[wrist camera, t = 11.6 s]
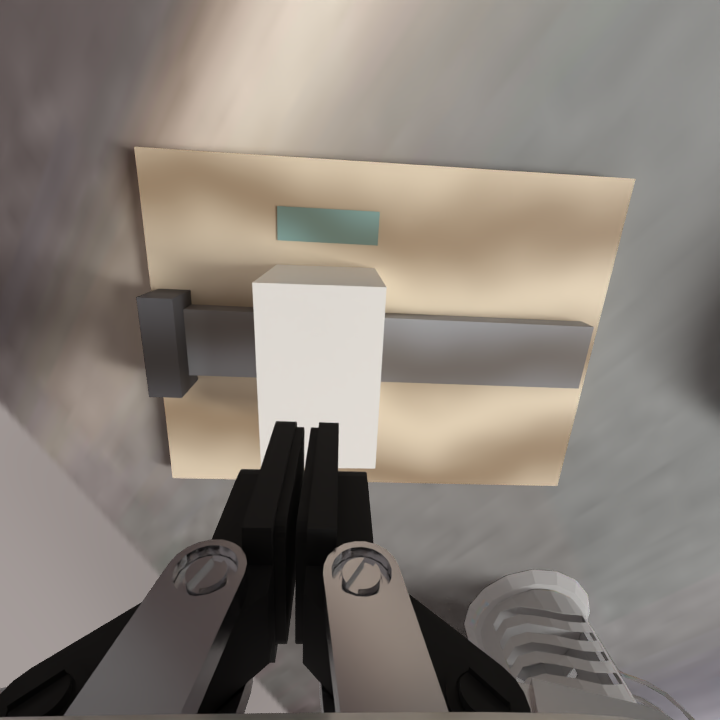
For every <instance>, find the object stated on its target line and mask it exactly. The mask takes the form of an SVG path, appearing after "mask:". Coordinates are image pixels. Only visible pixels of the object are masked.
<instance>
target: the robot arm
mask: <svg viewBox="0 0 720 720" xmlns="http://www.w3.org/2000/svg"><path fill="white" fill-rule="evenodd" d="M304 437H305V430H304V427H297V422H291V421H276V422H275V425H274V428H273V431H272V435H271V438H270V441H269V444H268V447H267V450H266V453H265V456H264V459H263V462H262V465H261V468H260V469H241V470H240V472H239V474H238V476H237V478H236V481H235V483H234V486H233V488H232V491H231V493H230V496H229V498H228V501H227V503H226V506H225V508H224V511H223V513H222V516H221V518H220V520H219V523H218V525H217V528H216V530H215V533H214V535H213V538H212V540H207V541H202V542H198V543H196V544H194V545H191V546H189V547H187V548H186V549H184V550H183V551H181V552H180V553H178V554H177V555H176V556H175V557H174V558H173V559H172V560H171V562H170V563H169V564H168V565H167V567H166V568H165V570H164V571H163V572H162V574H161V575H160V577H159V578H158V580H157V581H156V583H155V584H154V585H153V587H152V588H151V590H150V591H149V593H148V594H147V596H146V597H145V599H144V600H143V601H142V602H141V603H140V604H138V605H136V606H135V607H133V608H131V609H130V610H128V611H126V612H125V613H123V614H121V615H120V616H118V617H116V618H115V619H113V620H111V621H110V622H108V623H106V624H105V625H103V626H101V627H100V628H98V629H96V630H94V631H93V632H91V633H90V634H88V635H86V636H84V637H83V638H81V639H79V640H78V641H76V642H74V643H73V644H71V645H69V646H68V647H66V648H64V649H63V650H61V651H59V652H58V653H56V654H54V655H53V656H51V657H50V658H47V659H46V660H44V661H42V662H41V663H39V664H37V665H36V666H34V667H32V668H31V669H29V670H28V671H27V672H25V673H24V674H22V675H21V676H20V677H18V678H17V679H15V680H14V681H13V682H12V683H11V684H10V685H9V686H8V687H5V688H1V689H0V720H673V719H672V718H670V717H669V716H668V715H666V714H665V713H663V712H661V711H658V710H656V709H653V708H651V707H648V706H646V705H642V704H637V703H633V702H629V701H625V700H621V699H617V698H612V697H608V696H604V695H600V694H596V693H592V692H588V691H583V690H579V689H575V688H571V687H567V686H563V685H558V684H554V683H550V682H546V681H542V680H538V679H534V678H532V679H531V682H530V685H528V684H524V683H520V682H517V681H516V679H515V678H514V677H513V676H512V675H511V674H510V673H509V672H508V671H507V670H506V669H505V668H504V667H503V666H502V665H500V664H499V663H498V662H496V661H495V660H494V659H492V658H491V657H490V656H489V655H487V654H486V653H485V652H483V651H482V650H481V649H479V648H478V647H477V646H476V645H474V644H473V643H472V642H470V641H469V640H468V639H466V638H465V637H464V636H463V635H461V634H460V633H459V632H457V631H456V630H455V629H453V628H452V627H451V626H450V625H448V624H447V623H446V622H444V621H443V620H442V619H440V618H439V617H438V616H437V615H435V614H434V613H433V612H431V611H430V610H429V609H427V608H426V607H425V606H424V605H422V604H421V603H420V602H418V601H417V600H416V599H414V598H413V597H412V596H411V595H409V594H408V591H407V588H406V585H405V583H404V580H403V577H402V574H401V571H400V568H399V565H398V563H397V562H396V560H395V558H394V556H392V555H391V554H390V553H389V552H388V551H387V550H386V549H384V548H383V547H381V546H379V545H377V544H374V543H373V533H372V523H371V512H370V501H369V491H368V480H367V472H357V471H338V447H339V423H326V422H319V427H318V428H316V427H311V430H310V437H309V443H308V450H307V456H306V463H305V470H304ZM295 580H296V597H295V642H296V644H303V664H304V665H305V666H306V667H307V668H308V669H309V670H310V672H311V673H312V674H313V675H314V676H315V677H316V678H317V679H318V681H319V682H320V704H321V713H260V714H259V713H257V714H244V712H245V709H246V706H247V703H248V700H249V697H250V694H251V688H252V683H253V677H254V676H255V675H256V674H257V673H259V672H260V671H261V670H262V669H263V668H264V667H265V666H266V665H268V664H269V663H275V659H276V652H277V646H278V644H287V641H288V634H289V626H290V619H291V611H292V603H293V596H294V588H295Z"/></svg>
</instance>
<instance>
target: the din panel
mask: <svg viewBox="0 0 720 720" xmlns="http://www.w3.org/2000/svg"><path fill="white" fill-rule="evenodd" d="M134 150H135V159H136V167H137V176H138V184H139V193H140V201H141V210H142V219H143V227H144V236H145V244H146V253H147V261H148V270H149V278H150V287H151V292H149V293H146V294H144V295H141V296H138V297H136V299H137V307H138V314H139V322H140V330H141V337H142V345H143V353H144V361H145V368H146V376H147V384H148V391H149V397H163V398H164V407H165V415H166V424H167V433H168V441H169V450H170V458H171V467H172V475H173V478H201V479H236V478H237V476H238V474H239V472H240V470H241V469H260V468H261V458H260V437H259V415H258V394H257V373H256V352H255V330H254V309H253V288H252V282H254V281H255V280H257V279H258V278H259V277H261V276H262V275H263V274H265V273H266V272H267V271H269V270H270V269H271V268H273V267H274V266H275V265H277V264H280V265H307V266H334V267H362V268H375V269H376V271H377V272H378V274H379V276H380V277H381V279H382V281H383V282H384V284H385V286H386V287H387V289H386V305H385V321H384V337H383V353H382V369H381V385H380V401H379V417H378V433H377V450H376V466H375V469H366V468H338V471H357V472H367V480H368V482H394V483H442V484H491V485H539V486H557V485H558V481H559V477H560V473H561V469H562V465H563V461H564V457H565V453H566V449H567V446H568V442H569V438H570V434H571V430H572V426H573V422H574V418H575V414H576V410H577V406H578V402H579V398H580V395H581V391H582V387H583V383H584V379H585V375H586V371H587V367H588V363H589V359H590V355H591V351H592V347H593V344H594V340H595V336H596V332H597V328H598V324H599V320H600V316H601V312H602V308H603V304H604V300H605V296H606V293H607V289H608V285H609V281H610V277H611V273H612V269H613V265H614V261H615V257H616V253H617V249H618V245H619V242H620V238H621V234H622V230H623V226H624V222H625V218H626V214H627V210H628V206H629V202H630V198H631V194H632V191H633V187H634V183H635V179H628V178H613V177H597V176H582V175H566V174H551V173H535V172H520V171H504V170H488V169H473V168H457V167H442V166H426V165H411V164H395V163H380V162H364V161H349V160H333V159H317V158H302V157H286V156H271V155H255V154H240V153H224V152H209V151H193V150H177V149H162V148H146V147H134ZM304 470H305V468H304Z"/></svg>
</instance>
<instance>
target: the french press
mask: <svg viewBox="0 0 720 720" xmlns="http://www.w3.org/2000/svg"><path fill="white" fill-rule="evenodd" d="M589 613H590V610H589V601H588V594H587V593H586V592H585V591H584V589H583V588H582V587H581V586H580V584H579V583H578V582H577V581H576V580H575V579H572V578H570V577H568V576H566V575H564V574H561V573H559V572H557V571H545V570H528V571H524V572H519V573H515V574H511V575H507V576H505V577H503V578H501V579H499V580H498V581H496V582H494V583H493V584H491V585H489V586H487V587H486V588H484V589H483V590H482V591H481V593H480V594H479V595H478V596H477V597H476V598H475V600H474V601H473V602H472V603H471V604H470V605H469V609H468V612H467V616H466V619H465V623H464V625H465V629H466V633H467V637H468V640H469V641H470V642H472V643H473V644H474V645H476V646H477V647H478V648H479V649H481V650H482V651H483V652H485V653H486V654H487V655H489V656H490V657H491V658H492V659H494V660H495V661H496V662H498V663H499V664H500V665H502V666H503V667H504V668H505V669H506V670H507V671H508V672H509V673H510V674H511V675H512V676H513V677H514V678H515V679H516V678H517V677H518V678H520V679H522V680H523V681H525V682H524V684H528V685H530V682H531V679H532V678H534V679H538V680H542V681H546V682H550V683H554V684H558V685H563V686H567V687H571V688H575V689H579V690H583V691H588V692H592V693H596V694H600V695H604V696H608V697H612V698H617V699H621V700H625V701H629V702H633V703H637V702H636V701H639V702H641V703H643V704H644V705H646V706H648V707H651V708H653V709H656V710H658V711H661V712H663V711H662V710H661V709H659V708H658V707H656V706H655V705H653V704H651V703H650V702H648V701H646V700H645V699H643V698H641V697H638V696H635V695H633V694H631V692H630V691H629V689H628V687H627V686H626V684H625V682H624V681H623V679H622V677H625V678H627V679H630V680H633V681H635V682H638V683H641V684H643V685H646V686H647V687H649V688H651V689H653V690H655V691H656V692H658V693H660V694H662V695H664V696H665V697H666V698H667V699H668V700H670V701H671V702H672V703H673V704H674V705H675V706H677V707H678V708H679V709H680V710H681V711H682V712H683V713H684V714H685V716H686V717H687V718H688V719H689V720H695V719H694V718H693V717H692V716H691V715H690V714H689V713H688V712H687V711H686V710H685V709H684V708H683V707H682V706H681V705H680V704H679V703H677V702H676V701H675V700H674V699H673V698H672V697H671V696H669V695H668V694H667V693H666V692H664V691H662V690H661V689H659V688H657V687H656V686H654V685H652V684H650V683H649V682H647V681H645V680H642V679H639V678H636V677H634V676H631V675H628V674H625V673H623V672H621V671H620V670H618V669H617V667H616V666H615V664H614V662H613V661H612V659H611V658H610V656H609V654H608V653H607V651H606V650H605V648H604V646H603V645H602V643H601V642H600V640H599V638H598V637H597V635H596V633H595V632H594V630H593V629H592V627H591V625H590V624H589V622H588V621H587V619H588V616H589ZM584 632H586V633H590V635H591V637H592V638H593V640H594V641H588V639H587V637H586V636H585V634H584ZM595 652H601V654H602V655H603V657H604V659H605V660H606V661H604V662H601V661H600V660H599V658H598V657H597V655H596V653H595ZM573 668H575V670H576V672H577V674H578V675H577V677H576V678H569V677H568V675H569V674H570V672H571V671H572V669H573ZM607 673H613V674H614V675H615V677H616V679H617V681H618V682H619V684H618V685H614V684H613V682H612V681H611V679H610V677H609V676H608V674H607ZM621 676H622V677H621ZM635 700H636V701H635ZM663 713H664V712H663Z"/></svg>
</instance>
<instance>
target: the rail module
mask: <svg viewBox="0 0 720 720" xmlns="http://www.w3.org/2000/svg"><path fill="white" fill-rule="evenodd" d="M252 288H253V309H254V330H255V352H256V373H257V394H258V415H259V437H260V458H261V465H262V462H263V459H264V456H265V453H266V450H267V447H268V444H269V441H270V438H271V435H272V431H273V428H274V425H275V422H276V421H291V422H297V427H304V430H305V437H304V468H305V463H306V456H307V450H308V443H309V437H310V430H311V427H316V428H318V427H319V422H326V423H339V447H338V468H366V469H375V466H376V450H377V433H378V417H379V401H380V385H381V369H382V353H383V337H384V321H385V305H386V289H387V287H386V286H385V284H384V282H383V281H382V279H381V277H380V276H379V274H378V272H377V271H376V269H375V268H362V267H334V266H307V265H280V264H277V265H275V266H274V267H273V268H271V269H270V270H269V271H267V272H266V273H265V274H263V275H262V276H261V277H259V278H258V279H257V280H255V281H254V282H252Z"/></svg>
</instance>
